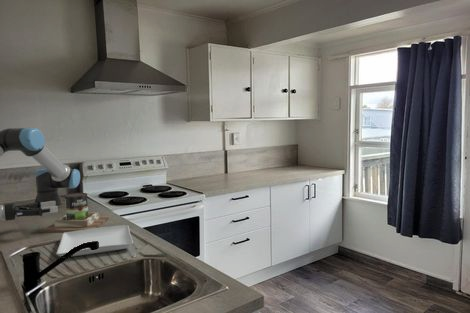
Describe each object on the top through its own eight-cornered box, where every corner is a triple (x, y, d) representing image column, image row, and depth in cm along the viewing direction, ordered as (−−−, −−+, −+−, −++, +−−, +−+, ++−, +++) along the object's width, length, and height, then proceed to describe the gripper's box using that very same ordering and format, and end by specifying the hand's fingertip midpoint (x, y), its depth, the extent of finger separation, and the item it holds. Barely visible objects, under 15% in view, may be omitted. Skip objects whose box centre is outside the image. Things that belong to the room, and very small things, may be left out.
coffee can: (92, 222, 178) (90, 194, 177) (70, 226, 171) (68, 197, 170) (84, 218, 186) (83, 191, 184) (63, 222, 179) (61, 194, 178)
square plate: (63, 240, 156) (62, 231, 155) (128, 232, 165) (128, 223, 165) (56, 262, 130) (55, 252, 130) (134, 251, 140) (133, 241, 140)
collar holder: (65, 218, 191) (64, 211, 190) (110, 217, 191) (110, 210, 190) (41, 232, 167) (40, 224, 166) (93, 231, 167) (92, 222, 166)
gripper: (6, 215, 174) (55, 208, 184) (4, 227, 152) (59, 219, 163) (5, 199, 173) (54, 194, 184) (2, 210, 151) (58, 203, 162)
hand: (56, 206), depth 173 cm, fingers open, 13 cm apart
